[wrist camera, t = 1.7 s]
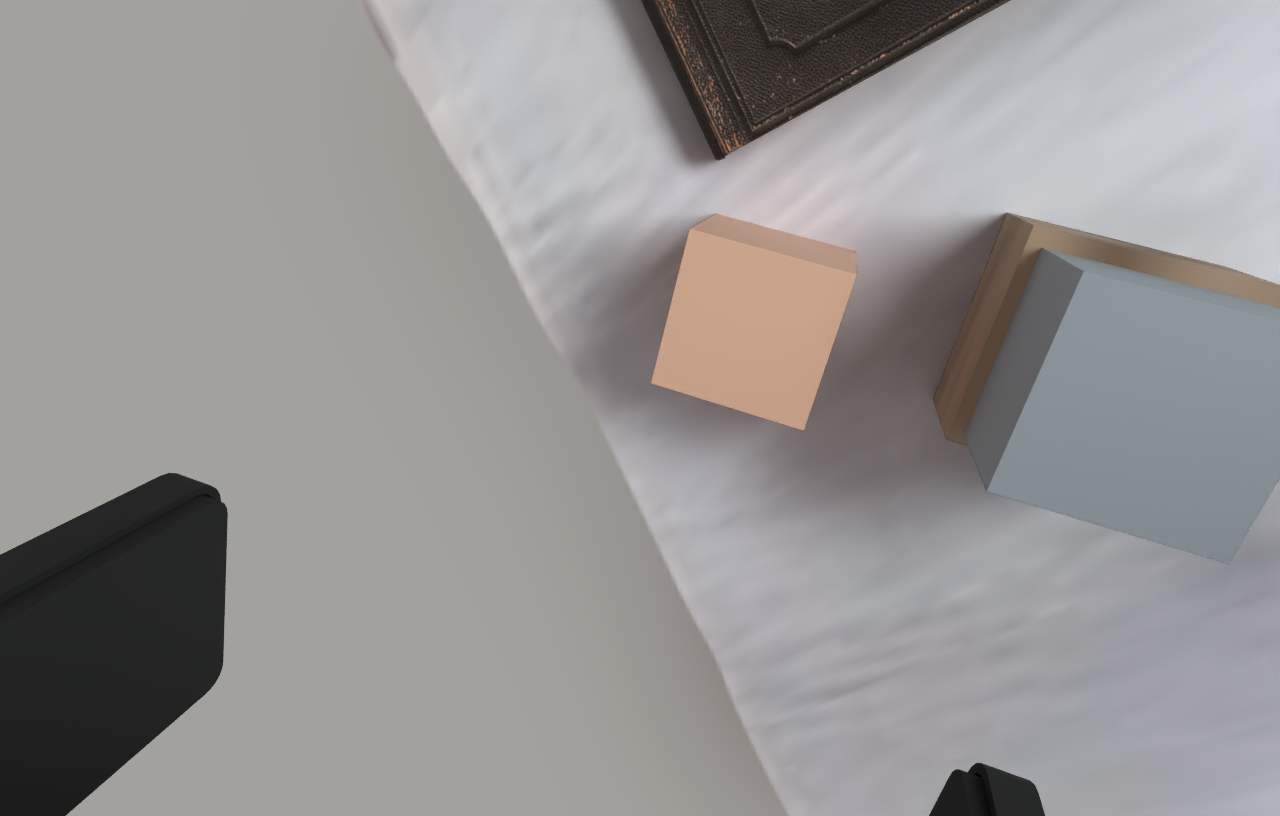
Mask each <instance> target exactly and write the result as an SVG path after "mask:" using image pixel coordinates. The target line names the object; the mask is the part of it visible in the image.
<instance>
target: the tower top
mask: <svg viewBox="0 0 1280 816" xmlns="http://www.w3.org/2000/svg"><path fill="white" fill-rule="evenodd" d="M965 437H966V440H967V442H968V445H969V448H970V450H971V453H972V455H973V458H974V460H975V463H976V465H977V468H978V471H979V473H980V476H981V478H982V481H983V483H984V486H985V489H986V491H987V492H990V493H993V494H997V495H1000V496H1003V497H1007V498H1010V499H1013V500H1017V501H1020V502H1023V503H1026V504H1030V505H1033V506H1036V507H1040V508H1043V509H1046V510H1050V511H1053V512H1056V513H1060V514H1063V515H1066V516H1070V517H1073V518H1076V519H1080V520H1083V521H1086V522H1090V523H1093V524H1096V525H1100V526H1103V527H1106V528H1110V529H1113V530H1116V531H1120V532H1123V533H1126V534H1130V535H1133V536H1136V537H1140V538H1143V539H1146V540H1150V541H1153V542H1156V543H1160V544H1163V545H1166V546H1170V547H1173V548H1176V549H1180V550H1183V551H1186V552H1190V553H1193V554H1196V555H1200V556H1203V557H1206V558H1210V559H1213V560H1216V561H1220V562H1223V563H1226V564H1229V562H1230V561H1231V559H1232V557H1233V556H1234V554H1235V552H1236V551H1237V549H1238V547H1239V546H1240V544H1241V542H1242V541H1243V539H1244V537H1245V536H1246V534H1247V532H1248V531H1249V529H1250V527H1251V526H1252V524H1253V522H1254V521H1255V519H1256V517H1257V516H1258V514H1259V512H1260V511H1261V509H1262V507H1263V506H1264V504H1265V502H1266V501H1267V499H1268V497H1269V496H1270V494H1271V492H1272V491H1273V489H1274V487H1275V486H1276V484H1277V482H1278V481H1279V479H1280V309H1279V308H1277V307H1274V306H1272V305H1269V304H1266V303H1262V302H1258V301H1254V300H1250V299H1246V298H1242V297H1238V296H1234V295H1230V294H1226V293H1222V292H1218V291H1214V290H1210V289H1206V288H1202V287H1198V286H1194V285H1190V284H1186V283H1182V282H1178V281H1174V280H1170V279H1166V278H1162V277H1158V276H1154V275H1150V274H1146V273H1142V272H1138V271H1134V270H1130V269H1126V268H1122V267H1118V266H1114V265H1110V264H1106V263H1102V262H1098V261H1094V260H1090V259H1086V258H1082V257H1078V256H1073V255H1069V254H1065V253H1061V252H1057V251H1053V250H1049V249H1045V248H1042V249H1041V252H1040V254H1039V257H1038V259H1037V261H1036V264H1035V266H1034V269H1033V271H1032V273H1031V276H1030V278H1029V281H1028V283H1027V285H1026V288H1025V290H1024V293H1023V295H1022V298H1021V300H1020V302H1019V305H1018V307H1017V310H1016V312H1015V314H1014V317H1013V319H1012V322H1011V324H1010V326H1009V329H1008V331H1007V334H1006V336H1005V338H1004V341H1003V343H1002V346H1001V348H1000V350H999V353H998V355H997V358H996V360H995V363H994V365H993V367H992V370H991V372H990V375H989V377H988V379H987V382H986V384H985V387H984V389H983V391H982V394H981V396H980V399H979V401H978V403H977V406H976V408H975V411H974V413H973V415H972V418H971V420H970V423H969V425H968V427H967V430H966V432H965Z"/></svg>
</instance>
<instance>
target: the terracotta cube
mask: <svg viewBox="0 0 1280 816" xmlns="http://www.w3.org/2000/svg"><path fill="white" fill-rule="evenodd" d="M856 276H857V267H856V251H852V250H848V249H845V248H841V247H837V246H834V245H830V244H826V243H822V242H819V241H815V240H811V239H808V238H804V237H800V236H797V235H793V234H789V233H786V232H782V231H778V230H774V229H771V228H767V227H763V226H760V225H756V224H752V223H749V222H745V221H741V220H738V219H734V218H730V217H726V216H723V215H719V214H715V215H713V216H711V217H710V218H708V219H706V220H704V221H702V222H701V223H699V224H697V225H695V226H694V227H692V228H690V230H689V234H688V238H687V242H686V246H685V250H684V254H683V258H682V262H681V266H680V269H679V273H678V277H677V281H676V285H675V289H674V293H673V297H672V301H671V305H670V309H669V313H668V317H667V321H666V325H665V329H664V333H663V337H662V341H661V345H660V349H659V353H658V357H657V361H656V365H655V369H654V373H653V377H652V381H651V383H652V384H655V385H658V386H661V387H665V388H668V389H671V390H674V391H677V392H681V393H684V394H687V395H690V396H694V397H697V398H700V399H703V400H706V401H710V402H713V403H716V404H719V405H723V406H726V407H729V408H732V409H735V410H739V411H742V412H745V413H748V414H752V415H755V416H758V417H761V418H765V419H768V420H771V421H774V422H777V423H781V424H784V425H787V426H790V427H794V428H797V429H800V430H803V431H804V428H805V425H806V422H807V420H808V417H809V414H810V411H811V408H812V405H813V402H814V399H815V396H816V393H817V390H818V387H819V384H820V381H821V378H822V375H823V373H824V370H825V367H826V364H827V361H828V358H829V355H830V352H831V349H832V346H833V343H834V340H835V337H836V334H837V331H838V329H839V326H840V323H841V320H842V317H843V314H844V311H845V308H846V305H847V302H848V299H849V296H850V293H851V290H852V287H853V285H854V282H855V279H856Z"/></svg>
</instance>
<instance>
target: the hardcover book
mask: <svg viewBox="0 0 1280 816" xmlns="http://www.w3.org/2000/svg"><path fill="white" fill-rule="evenodd" d="M641 1H642V3H643V5H644V7H645V9H646V11H647V13H648V16H649V18H650V20H651V22H652V24H653V26H654V28H655V31H656V33H657V35H658V37H659V39H660V41H661V43H662V45H663V48H664V50H665V52H666V54H667V56H668V58H669V60H670V63H671V65H672V67H673V69H674V71H675V73H676V75H677V78H678V80H679V82H680V84H681V86H682V88H683V90H684V92H685V95H686V97H687V99H688V101H689V103H690V105H691V107H692V110H693V112H694V114H695V116H696V118H697V120H698V122H699V124H700V127H701V129H702V131H703V133H704V135H705V137H706V139H707V142H708V144H709V146H710V148H711V150H712V152H713V154H714V156H715V159H717V160H722V159H724V158H725V156H726V155H728V154H729V153H731V152H733V151H735V150H737V149H739V148H740V147H742V146H744V145H746V144H748V143H750V142H751V141H753V140H755V139H757V138H759V137H761V136H762V135H764V134H766V133H768V132H770V131H772V130H773V129H775V128H777V127H779V126H781V125H783V124H784V123H786V122H788V121H790V120H792V119H794V118H795V117H797V116H799V115H801V114H803V113H805V112H806V111H808V110H810V109H812V108H814V107H816V106H818V105H819V104H821V103H823V102H825V101H827V100H829V99H830V98H832V97H834V96H836V95H838V94H840V93H841V92H843V91H845V90H847V89H849V88H851V87H852V86H854V85H856V84H858V83H860V82H862V81H863V80H865V79H867V78H869V77H871V76H873V75H874V74H876V73H878V72H880V71H882V70H884V69H885V68H887V67H889V66H891V65H893V64H895V63H896V62H898V61H900V60H902V59H904V58H906V57H907V56H909V55H911V54H913V53H915V52H917V51H918V50H920V49H922V48H924V47H926V46H928V45H929V44H931V43H933V42H935V41H937V40H939V39H940V38H942V37H944V36H946V35H948V34H950V33H951V32H953V31H955V30H957V29H959V28H961V27H962V26H964V25H966V24H968V23H970V22H972V21H973V20H975V19H977V18H979V17H981V16H983V15H984V14H986V13H988V12H990V11H992V10H994V9H995V8H997V7H999V6H1001V5H1003V4H1005V3H1006V2H1008V1H1010V0H641Z"/></svg>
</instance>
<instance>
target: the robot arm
mask: <svg viewBox="0 0 1280 816" xmlns="http://www.w3.org/2000/svg"><path fill="white" fill-rule="evenodd" d="M227 515H228V514H227V508H226V506H225V504H224V503H222V502H221V498H220V494H219V492H218V490H217V489H216V488H214V487H212V486H210V485H207V484H204V483H202V482H199V481H196V480H193V479H191V478H188V477H185V476H182V475H180V474H177V473H168V474H165V475H162V476H159V477H157V478H155V479H153V480H151V481H149V482H147V483H145V484H143V485H141V486H139V487H137V488H135V489H133V490H131V491H129V492H127V493H125V494H123V495H121V496H119V497H117V498H115V499H113V500H111V501H108V502H106V503H105V504H102V505H100V506H98V507H97V508H95V509H92V510H90V511H88V512H86V513H84V514H82V515H80V516H78V517H76V518H74V519H72V520H70V521H68V522H66V523H64V524H62V525H60V526H58V527H56V528H54V529H52V530H50V531H48V532H46V533H44V534H42V535H40V536H37V537H35V538H33V539H32V540H29V541H27V542H25V543H23V544H21V545H19V546H17V547H15V548H13V549H11V550H9V551H7V552H5V553H3V554H1V555H0V816H66V815H67V814H68V813H69V812H70V811H71V810H73V809H74V808H75V807H76V806H77V805H78V804H79V803H81V802H82V801H83V800H84V799H85V798H86V797H87V796H89V795H90V794H91V793H92V792H93V791H94V790H95V789H97V788H98V787H99V786H100V785H101V784H102V783H104V782H105V781H106V780H107V779H108V778H109V777H111V776H112V775H113V774H114V773H115V772H116V771H117V770H118V769H120V768H121V767H122V766H123V765H124V764H125V763H127V761H129V760H130V759H131V758H132V757H134V756H135V755H136V754H137V753H138V752H139V751H140V750H142V749H143V748H144V747H145V746H146V745H147V744H149V743H150V742H151V741H152V740H153V739H154V738H155V737H156V736H158V735H159V734H160V733H161V732H162V731H163V730H165V729H166V728H167V727H168V726H169V725H170V724H172V723H173V722H174V721H175V720H176V719H177V718H178V717H180V716H181V715H182V714H183V713H184V712H185V711H187V710H188V709H189V708H190V707H191V706H192V705H193V704H194V703H195V702H197V701H198V700H199V699H200V698H201V697H203V696H204V695H205V694H206V693H207V692H208V691H209V690H210V689H211V687H212V686H213V685H214V684H215V682H216V681H217V679H218V677H219V675H220V673H221V669H222V666H223V649H224V615H225V582H226V581H225V580H226V579H225V578H226V548H227ZM929 816H1045V814H1044V811H1043V807H1042V804H1041V800H1040V797H1039V794H1038V791H1037V789H1036V787H1035V785H1034V784H1033V783H1032V782H1031V781H1029V780H1027V779H1024V778H1021V777H1018V776H1015V775H1013V774H1010V773H1007V772H1004V771H1002V770H999V769H996V768H993V767H990V766H988V765H985V764H982V763H976V764H975V765H973V766H972V767H971V769H970V770H969V771H968V773H967V772H964V771H962V770H958V769H956V770H954V771H953V772H952V773H951V775H950V777H949V778H948V780H947V782H946V784H945V786H944V788H943V790H942V792H941V794H940V796H939V798H938V800H937V801H936V803H935V805H934V807H933V809H932V811H931V813H930V815H929Z"/></svg>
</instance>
